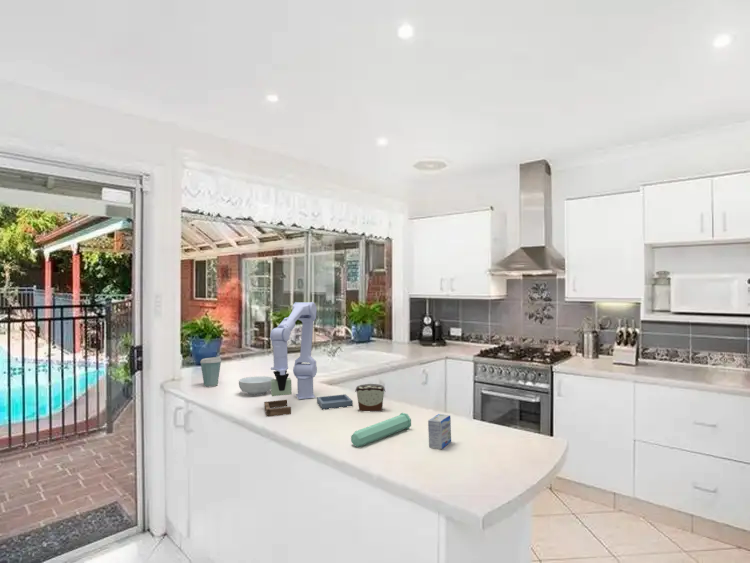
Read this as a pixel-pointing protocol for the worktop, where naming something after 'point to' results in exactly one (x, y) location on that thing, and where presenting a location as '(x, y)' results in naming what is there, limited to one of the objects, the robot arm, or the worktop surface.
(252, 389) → the cereal bowl
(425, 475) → the worktop surface
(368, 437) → the container
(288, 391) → the tall sage green block
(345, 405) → the tray
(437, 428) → the medicine box
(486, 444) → the worktop surface
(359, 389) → the food container
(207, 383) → the disposable coffee cup
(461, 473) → the worktop surface
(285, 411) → the holder
